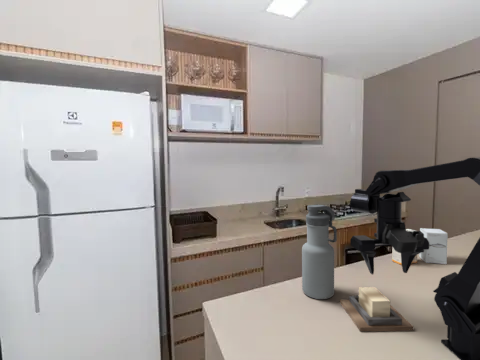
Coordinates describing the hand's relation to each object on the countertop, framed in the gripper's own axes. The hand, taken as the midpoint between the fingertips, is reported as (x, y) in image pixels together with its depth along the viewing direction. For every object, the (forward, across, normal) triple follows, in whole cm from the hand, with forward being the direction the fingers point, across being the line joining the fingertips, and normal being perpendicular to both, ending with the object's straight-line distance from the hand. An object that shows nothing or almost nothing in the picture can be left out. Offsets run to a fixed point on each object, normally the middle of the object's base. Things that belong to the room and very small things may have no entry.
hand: (388, 273), depth 71 cm
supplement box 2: (+11, +40, +34) cm, 53 cm away
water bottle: (+11, -15, +12) cm, 22 cm away
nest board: (+11, -5, -1) cm, 12 cm away
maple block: (+10, -5, -1) cm, 11 cm away
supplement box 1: (+11, +28, +34) cm, 45 cm away
